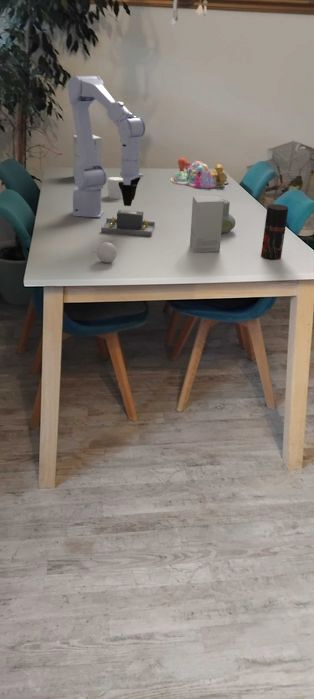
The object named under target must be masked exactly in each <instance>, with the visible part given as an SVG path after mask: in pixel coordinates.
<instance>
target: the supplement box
mask: <svg viewBox="0 0 314 699" xmlns="http://www.w3.org/2000/svg"><path fill="white" fill-rule="evenodd" d="M92 135H93V141H94V148H95V154H96V158H97V159H98V160H100V161H101V162H102V163H103V138H102V137H100V136H98V135H95V134H92ZM72 157H73V158H72V159H73V160H72V162H73V163H72V165H73V167H72V168H73V170H72V172H73V173H72V174H73V177H74V176H75V169H74V167H75V165H76V164H77V163H78V162H79V161H80V155H79V149H78V143H77V136H76V134H75V135H72ZM90 168H93V167H86V168H85V169H90Z"/></svg>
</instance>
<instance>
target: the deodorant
mask: <svg viewBox="0 0 314 699" xmlns="http://www.w3.org/2000/svg"><path fill="white" fill-rule="evenodd" d="M288 211H289V207H288V206H286V205H282V204H274V203H273V204H268V205H267V209H266V217H265V222H264V230H263V236H262V245H261V251H260V252H261V253H260V257H261V258H263V259H265V260H268V261H278V260H281V259H282V254H283V246H284V241H285V240H284V239H285V233H286V227H287V226H286V225H287V219H288Z"/></svg>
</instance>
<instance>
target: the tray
mask: <svg viewBox="0 0 314 699" xmlns="http://www.w3.org/2000/svg"><path fill="white" fill-rule="evenodd" d="M155 224H156V223H155V221H149V220H148V219H143V225H142V230H132V229H119V228H117V217H114V216H112V217H111V218H110V217H107V218H106V221H105V223H104V225H103V226H102V227H101V228H100V233H102V234H114V235H129V236H138V237H139V236H140V237H152V236H153V233H154V229H155Z"/></svg>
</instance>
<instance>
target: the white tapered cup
mask: <svg viewBox="0 0 314 699" xmlns="http://www.w3.org/2000/svg"><path fill="white" fill-rule="evenodd" d="M119 182H124V180H123V178H122V177H121V176H109V177H108V176H107V180H106V183H107V193H108V198H110V199H115V200H119V199H123V197H122V192H121V189H120V187H119Z"/></svg>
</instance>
